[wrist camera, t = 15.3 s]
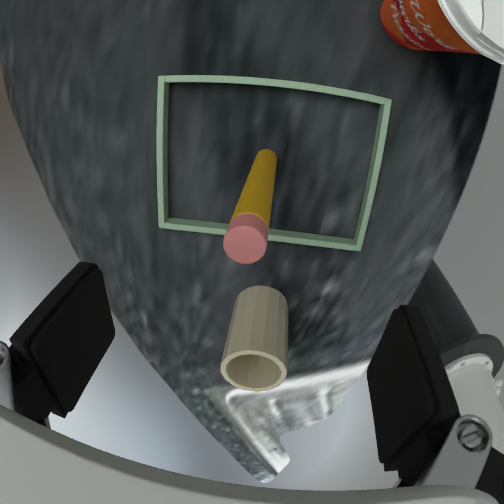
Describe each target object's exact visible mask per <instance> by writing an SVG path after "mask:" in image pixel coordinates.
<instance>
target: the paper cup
mask: <svg viewBox="0 0 504 504" xmlns="http://www.w3.org/2000/svg"><path fill="white" fill-rule="evenodd" d="M380 16H381V21H382V24H383V26H384V28H385V30H386V32H387V33H388V34H389V36H390V37H391V38H392V39H393V40H394V41H396V42H397V43H398V44H400V45H402V46H403V47H406V48H409V49H413V50H427V51H448V52H463V53H475V54H483V55H484V56H486V57H488V58H490V59H493V60H494V61H496V62H498V63H500V64H504V0H384V2H383V4H382V6H381V11H380Z"/></svg>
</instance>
